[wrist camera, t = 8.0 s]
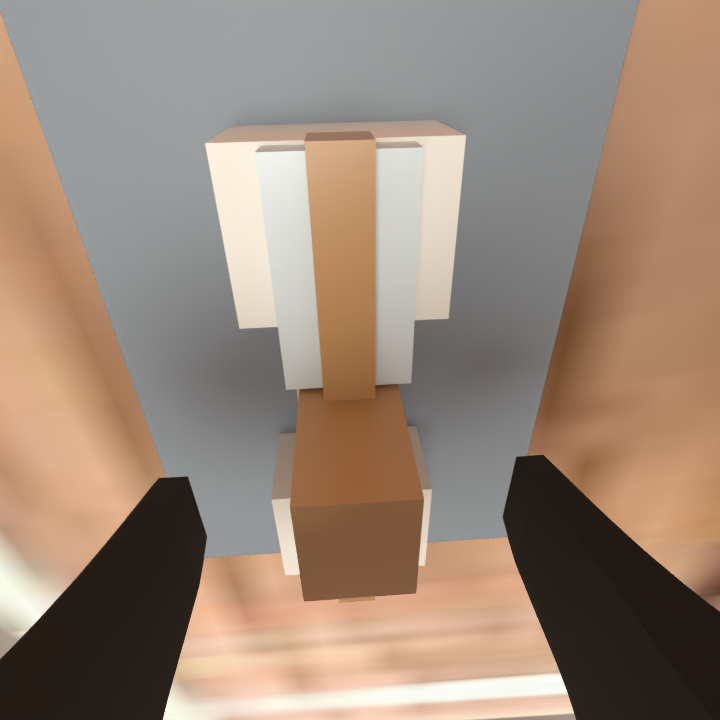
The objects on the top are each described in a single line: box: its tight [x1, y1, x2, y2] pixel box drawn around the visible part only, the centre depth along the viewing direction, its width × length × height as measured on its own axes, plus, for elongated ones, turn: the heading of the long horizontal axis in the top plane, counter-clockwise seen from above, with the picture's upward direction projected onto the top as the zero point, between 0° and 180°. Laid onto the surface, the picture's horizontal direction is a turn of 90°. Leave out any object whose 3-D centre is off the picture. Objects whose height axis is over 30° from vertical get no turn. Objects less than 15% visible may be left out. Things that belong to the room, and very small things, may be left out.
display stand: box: [0, 0, 639, 575], centre depth 14 cm, size 14×20×4 cm
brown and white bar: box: [255, 131, 424, 603], centre depth 11 cm, size 3×14×4 cm, turn 1°
